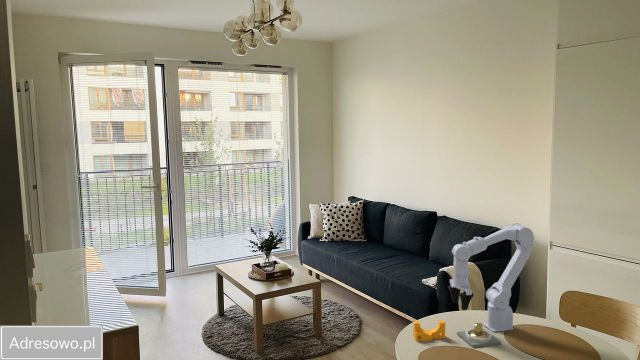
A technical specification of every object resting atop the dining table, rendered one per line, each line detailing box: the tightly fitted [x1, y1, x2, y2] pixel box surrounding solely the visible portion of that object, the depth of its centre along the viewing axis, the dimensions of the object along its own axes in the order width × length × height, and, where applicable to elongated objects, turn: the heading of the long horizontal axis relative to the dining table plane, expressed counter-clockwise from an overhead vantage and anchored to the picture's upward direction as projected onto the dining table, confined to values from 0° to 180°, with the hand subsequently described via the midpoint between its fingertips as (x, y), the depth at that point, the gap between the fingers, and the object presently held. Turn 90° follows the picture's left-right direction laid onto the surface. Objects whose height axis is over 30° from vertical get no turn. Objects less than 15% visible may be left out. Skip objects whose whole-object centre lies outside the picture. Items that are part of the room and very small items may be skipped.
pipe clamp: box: [412, 319, 446, 342], centre depth 186 cm, size 12×4×6 cm, turn 91°
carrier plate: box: [456, 328, 502, 348], centre depth 185 cm, size 12×12×2 cm
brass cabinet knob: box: [470, 322, 486, 338], centre depth 184 cm, size 6×6×5 cm
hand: (460, 306), depth 194 cm, fingers open, 7 cm apart
